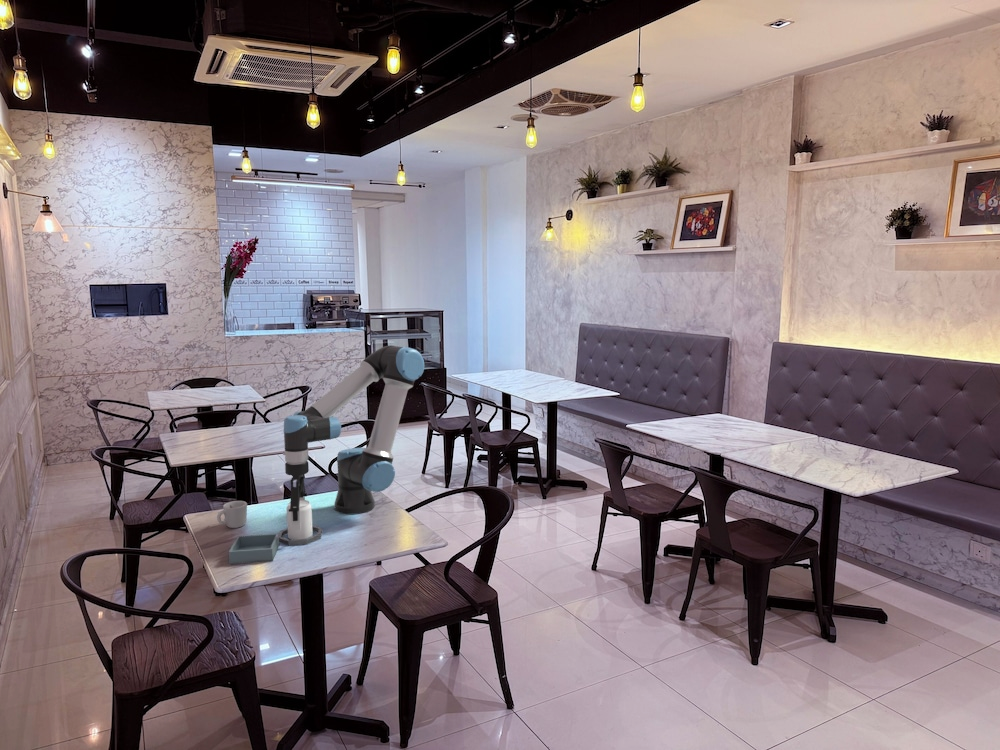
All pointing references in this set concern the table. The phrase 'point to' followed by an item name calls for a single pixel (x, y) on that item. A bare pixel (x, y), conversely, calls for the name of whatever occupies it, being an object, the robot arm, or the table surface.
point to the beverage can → (301, 521)
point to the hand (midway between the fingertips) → (298, 522)
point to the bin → (254, 548)
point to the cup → (234, 514)
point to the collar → (300, 541)
